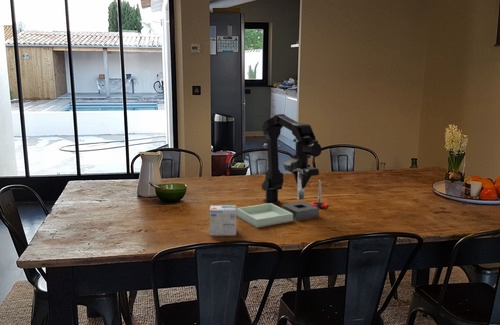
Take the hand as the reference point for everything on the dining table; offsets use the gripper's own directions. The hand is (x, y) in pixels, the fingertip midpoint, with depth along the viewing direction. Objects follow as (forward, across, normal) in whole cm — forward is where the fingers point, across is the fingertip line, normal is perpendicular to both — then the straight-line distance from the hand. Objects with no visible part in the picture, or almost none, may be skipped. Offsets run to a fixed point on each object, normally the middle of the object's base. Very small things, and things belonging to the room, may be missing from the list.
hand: (300, 187), depth 221 cm
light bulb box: (+13, +5, -41) cm, 43 cm away
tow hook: (+13, -8, +17) cm, 23 cm away
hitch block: (+13, 0, 0) cm, 13 cm away
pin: (+5, 0, 0) cm, 5 cm away
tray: (+13, -3, -17) cm, 21 cm away
